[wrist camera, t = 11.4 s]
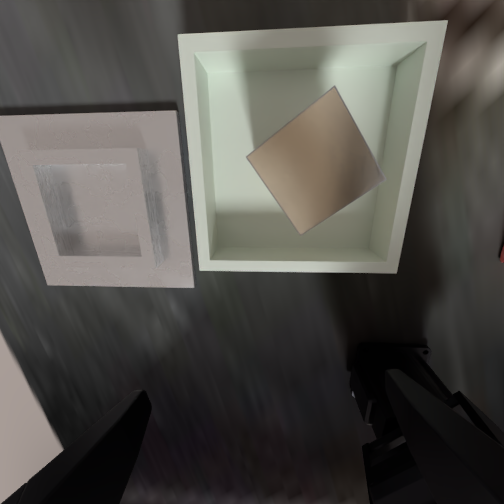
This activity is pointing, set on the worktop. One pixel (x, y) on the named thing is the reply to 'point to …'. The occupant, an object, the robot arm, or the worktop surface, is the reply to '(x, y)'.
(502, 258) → the ink cartridge box
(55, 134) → the socket collar
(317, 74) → the bin
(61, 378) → the worktop surface
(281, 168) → the strut
